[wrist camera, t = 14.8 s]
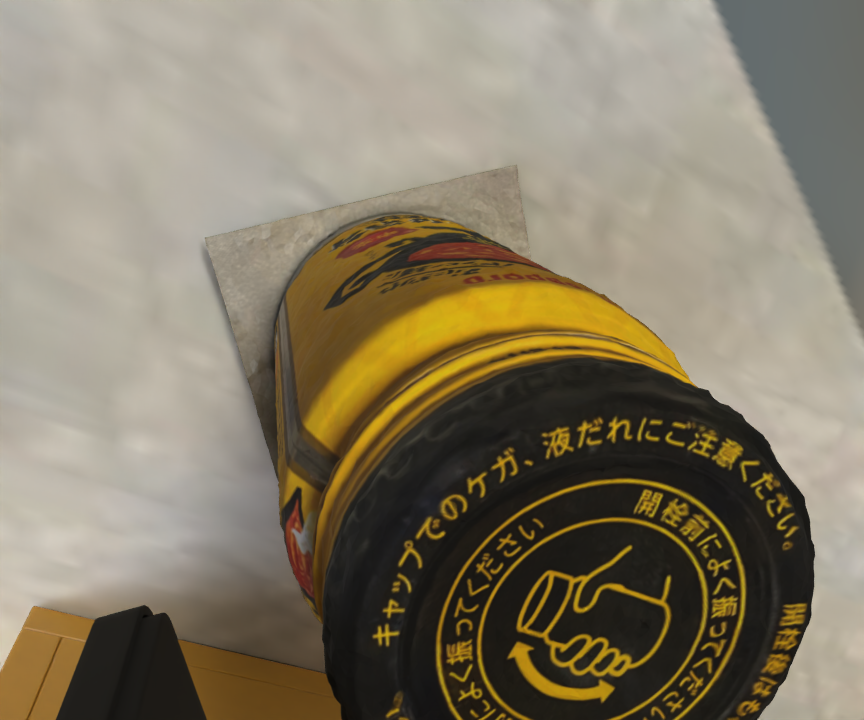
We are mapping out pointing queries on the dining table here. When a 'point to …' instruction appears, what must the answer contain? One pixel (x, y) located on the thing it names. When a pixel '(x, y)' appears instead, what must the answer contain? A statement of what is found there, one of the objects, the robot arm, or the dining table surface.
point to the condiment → (506, 475)
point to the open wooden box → (209, 667)
